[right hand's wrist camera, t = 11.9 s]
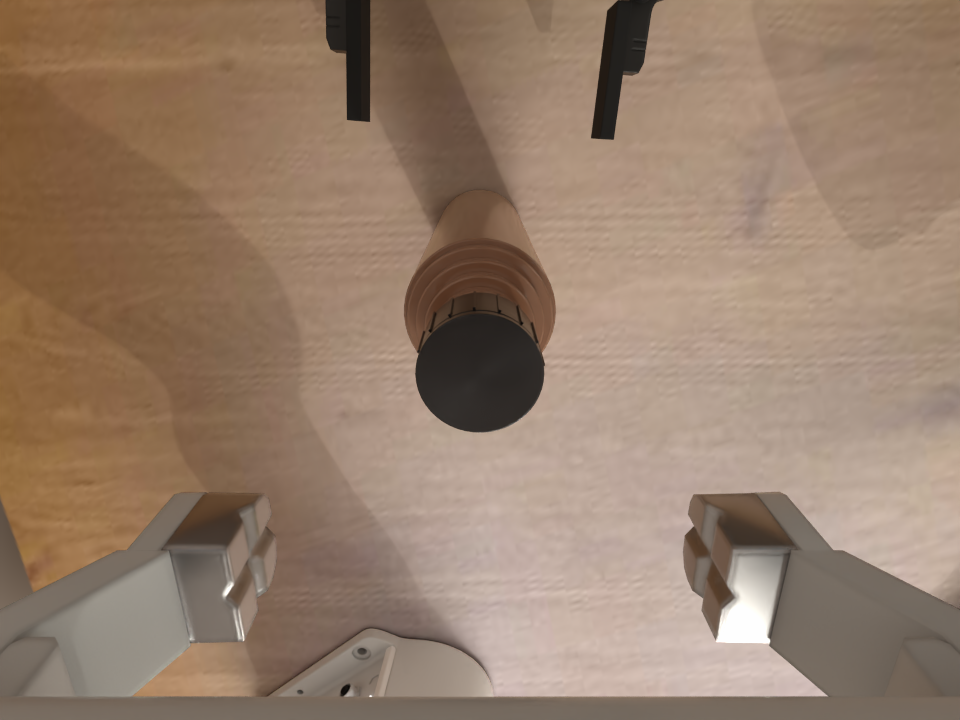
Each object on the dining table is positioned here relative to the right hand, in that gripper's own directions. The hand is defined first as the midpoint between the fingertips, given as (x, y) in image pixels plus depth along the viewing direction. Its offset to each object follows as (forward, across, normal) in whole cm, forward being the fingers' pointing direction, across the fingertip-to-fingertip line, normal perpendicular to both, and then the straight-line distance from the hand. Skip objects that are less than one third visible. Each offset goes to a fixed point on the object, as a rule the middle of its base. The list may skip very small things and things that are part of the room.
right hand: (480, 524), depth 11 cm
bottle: (+33, 0, 0) cm, 33 cm away
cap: (+7, 0, 0) cm, 7 cm away
